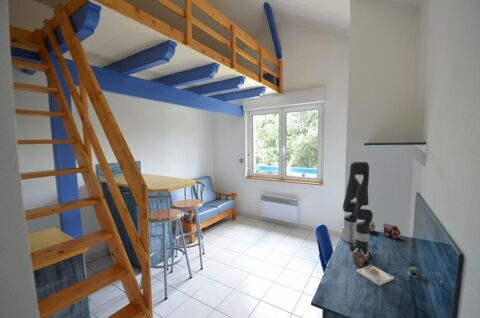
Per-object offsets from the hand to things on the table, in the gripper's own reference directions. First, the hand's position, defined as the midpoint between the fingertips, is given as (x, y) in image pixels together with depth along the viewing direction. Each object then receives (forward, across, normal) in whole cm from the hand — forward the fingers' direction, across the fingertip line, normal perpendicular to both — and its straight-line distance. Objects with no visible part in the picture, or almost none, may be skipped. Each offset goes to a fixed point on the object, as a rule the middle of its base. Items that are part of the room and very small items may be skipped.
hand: (360, 261), depth 142 cm
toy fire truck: (+2, -16, +63) cm, 65 cm away
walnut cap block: (+1, 0, 0) cm, 1 cm away
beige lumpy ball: (+2, -32, +57) cm, 65 cm away
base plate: (+1, +12, -4) cm, 13 cm away
